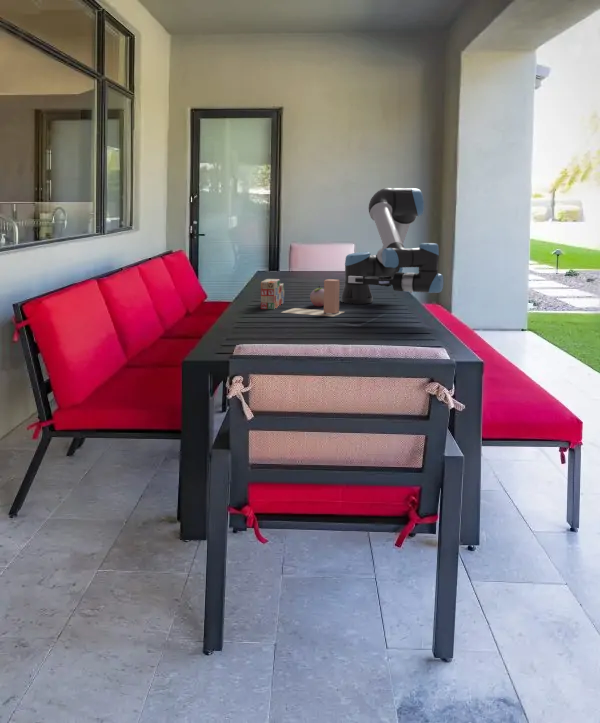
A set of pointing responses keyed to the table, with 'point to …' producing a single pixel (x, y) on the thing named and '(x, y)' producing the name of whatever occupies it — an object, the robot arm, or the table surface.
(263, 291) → the stack of blocks
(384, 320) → the table surface
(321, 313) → the board
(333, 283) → the block
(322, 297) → the decorative fruit
